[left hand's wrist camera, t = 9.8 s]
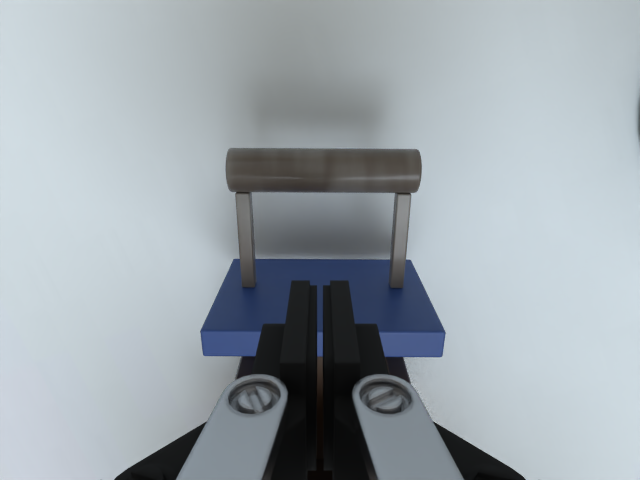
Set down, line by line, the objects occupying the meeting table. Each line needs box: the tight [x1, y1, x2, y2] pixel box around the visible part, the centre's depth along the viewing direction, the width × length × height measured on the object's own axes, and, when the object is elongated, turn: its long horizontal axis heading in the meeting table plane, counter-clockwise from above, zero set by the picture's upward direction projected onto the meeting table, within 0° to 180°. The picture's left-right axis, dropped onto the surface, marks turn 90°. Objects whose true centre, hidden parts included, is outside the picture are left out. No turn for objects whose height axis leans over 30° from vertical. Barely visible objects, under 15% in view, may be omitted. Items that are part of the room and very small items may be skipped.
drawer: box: [200, 148, 445, 480], centre depth 20 cm, size 20×9×7 cm, turn 0°
